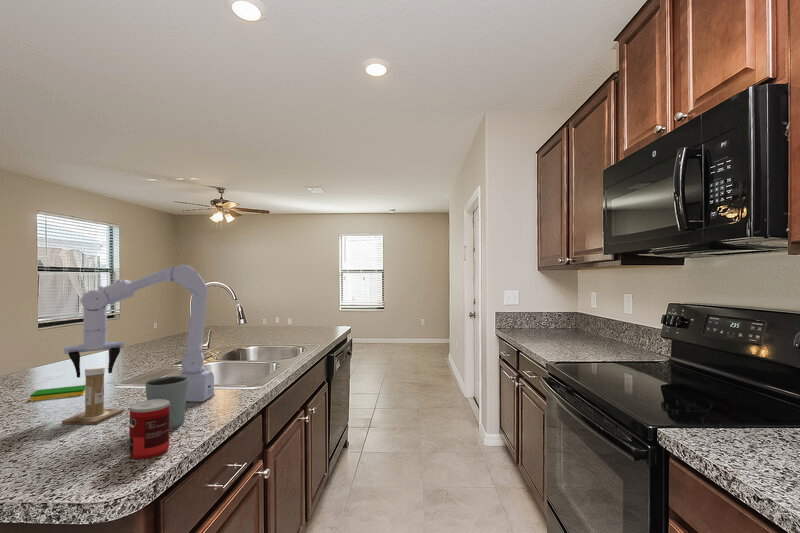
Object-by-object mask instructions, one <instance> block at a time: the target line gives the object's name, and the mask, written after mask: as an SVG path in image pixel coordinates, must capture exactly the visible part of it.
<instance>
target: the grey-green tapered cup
mask: <svg viewBox="0 0 800 533" xmlns="http://www.w3.org/2000/svg"><path fill="white" fill-rule="evenodd" d="M144 384H145V394H146V395H145V396H146V400H153V399H164V400H168V401H169V403H170V426H169V430H172V429H175V428H178V427H181V426H182V425H183V424H184V423H185V420H186V418H185V417H186V413H185V411H186V405H187V404H186V403H187V401H186V393H187V386H188V378H187V377H183V376H181V375H179V376H177V375H175V376H174V375H173V376H164V377H163V376H162V377H157V378H154V379H150V380H148V381H147V380H146V382H145V383H144Z"/></svg>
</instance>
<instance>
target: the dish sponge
mask: <svg viewBox="0 0 800 533" xmlns="http://www.w3.org/2000/svg"><path fill="white" fill-rule="evenodd" d="M85 385H86V384H84V385H74V386H73V385H72V386H63V387H62V386H61V387H55V388H54V387H53V388H45V389H37V390H35V391H34V392H32V393H31V394H30V395H29V396H30V397H29V402H38V401H46V400H53V399H54V400H55V398H56V399H62V398H61V397H65V398H70V397H69V396H74V397H79V396H78V395H82V396H84V395H85V394H84V393H85ZM83 394H84V395H83Z"/></svg>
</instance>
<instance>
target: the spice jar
mask: <svg viewBox="0 0 800 533" xmlns="http://www.w3.org/2000/svg"><path fill="white" fill-rule="evenodd" d="M105 372H106V367H105V366H104V365H95V366H94V365H93V366H88V367H86V368H85V369H84V377H85V384H84V385H85V394H84V406H85V407H84V412H85V416H87V417H92V416H98V415H101V414H103V413H104V409H105V408H104V406H105V404H104V403H105V402H104V401H105Z"/></svg>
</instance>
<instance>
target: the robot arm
mask: <svg viewBox="0 0 800 533" xmlns="http://www.w3.org/2000/svg"><path fill="white" fill-rule="evenodd" d="M161 282H168V283H169V282H170V283H173V282H175V283H176V284H178V285H180V286H182V287H184V288H185V289H186V290H188V291H189V293H190V294H191V295H192V297H191V308H190V317H189V324H188V333H187V334H188V335H187V344H186V348H185V354H184V357H183V358H182V359H181V368H182V370H180V376H183V377H187V378H188V386H187V393H186V402H198V403H199V402H201V403H202V402H205V401H207V400H209V399H210V398H212V397H213V396H215V395H216V393H215V390H214V389H215V376H214V373H213V371H208V370H206V367H205V366H204V362H205V353H204V352H203V351H204V350H203V347H204V342H203V341H204V334H205V324H206V314H207V305H208V296H209V288H208V286H207V285H206V283H205V281H204V280H203V278H202V277H201V274H200V273H199V271H197V270H196V269H195V268H193V266H190V265H187V264H180V265H177V266H172V267H169V268H168V267H167V268H164V269H163V268H162V269H160V270H158V271H155V272H153V273H151V274H148V275H145V276H143V277H140V278H137V279H135V280H132V281H130V280H128V279H117V280H116V279H115V282H114V283H111V284H109V285H106V286H99V287H98V290H95V289H94V290H93V289H91V290H89V291H88V292H85V293H84V294H83V295H82V297H81V300H80V302H81V305H82V306H83V324H82V325H83V329H82V331H83V332H82V334H83V335H82V336H83V337H82V344H78V345H69V346H68V345H67V346H63V354H64V355H68V356H69V358H70V360H71V362H72V364H73V366H74V368H75V373H76V378H77V379H78V378H81V364H80V363H81V353H86V352H95V351H96V352H97V351H105V350H107V351H108V366H107V367H108V368H107V370H108V372H107V373H108V374H113V369H114V366H115V362H116V360H117V359H118V357H119V354H120V352H121V349H125V341H109V342H107V340H108V339H107V338H108V336H107V335H108V334H107V333H108V329H107V328H108V314H107V307H108V306H109V305H113V304H115V303H118V302H121V301H124V300H126V299H130V298H133V297H134V295H135V293H136V292H137V291H140V290H141V289H145V288H147V287H151V286H152V285H156V284H158V283H161Z"/></svg>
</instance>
